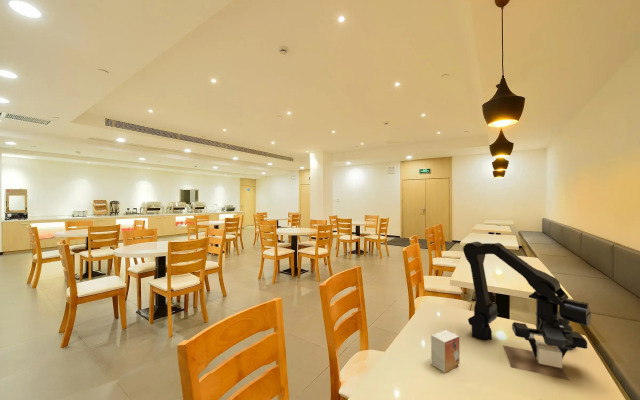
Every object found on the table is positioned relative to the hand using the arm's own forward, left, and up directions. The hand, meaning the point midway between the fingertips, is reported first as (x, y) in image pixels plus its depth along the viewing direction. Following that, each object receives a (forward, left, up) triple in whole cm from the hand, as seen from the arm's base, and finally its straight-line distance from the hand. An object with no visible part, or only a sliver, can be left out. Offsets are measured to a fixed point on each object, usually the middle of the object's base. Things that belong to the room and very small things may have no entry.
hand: (547, 359), depth 89 cm
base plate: (-4, 0, -3) cm, 5 cm away
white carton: (0, 0, 0) cm, 0 cm away
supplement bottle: (+9, +16, -3) cm, 18 cm away
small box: (-31, -13, -3) cm, 34 cm away
